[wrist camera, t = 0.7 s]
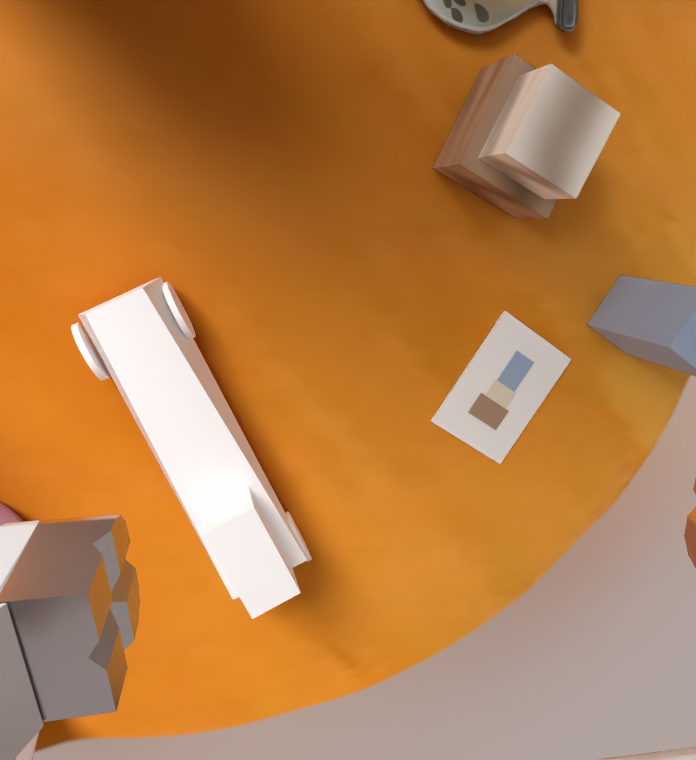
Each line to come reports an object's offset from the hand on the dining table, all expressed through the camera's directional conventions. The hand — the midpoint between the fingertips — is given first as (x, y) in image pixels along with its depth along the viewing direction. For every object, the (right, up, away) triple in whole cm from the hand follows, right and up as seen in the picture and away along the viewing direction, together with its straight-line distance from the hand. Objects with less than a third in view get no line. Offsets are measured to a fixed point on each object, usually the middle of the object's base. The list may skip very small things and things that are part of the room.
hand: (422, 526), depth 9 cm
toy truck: (-13, -2, +41) cm, 43 cm away
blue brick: (+23, +8, +48) cm, 53 cm away
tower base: (+11, +20, +41) cm, 47 cm away
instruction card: (+12, +1, +46) cm, 48 cm away
